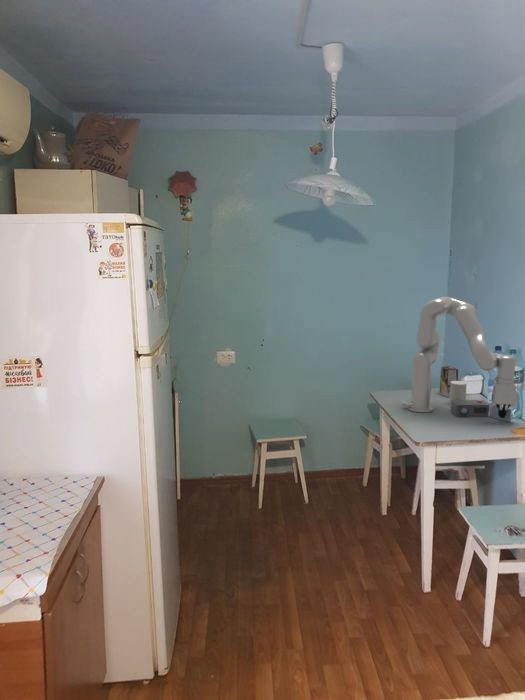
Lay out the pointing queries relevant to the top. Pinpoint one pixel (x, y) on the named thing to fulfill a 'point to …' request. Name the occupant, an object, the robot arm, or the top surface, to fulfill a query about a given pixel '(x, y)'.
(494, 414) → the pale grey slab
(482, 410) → the camera body
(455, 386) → the cup
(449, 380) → the coffee box
